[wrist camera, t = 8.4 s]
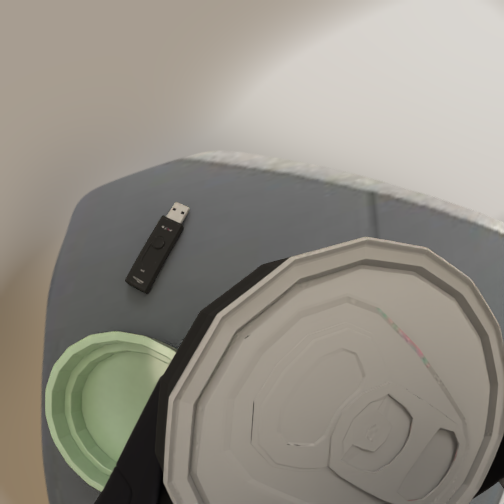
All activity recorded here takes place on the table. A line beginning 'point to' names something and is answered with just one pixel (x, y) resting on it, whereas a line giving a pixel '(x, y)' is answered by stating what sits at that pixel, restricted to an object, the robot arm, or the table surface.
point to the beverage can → (336, 384)
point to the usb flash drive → (157, 249)
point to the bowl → (101, 398)
